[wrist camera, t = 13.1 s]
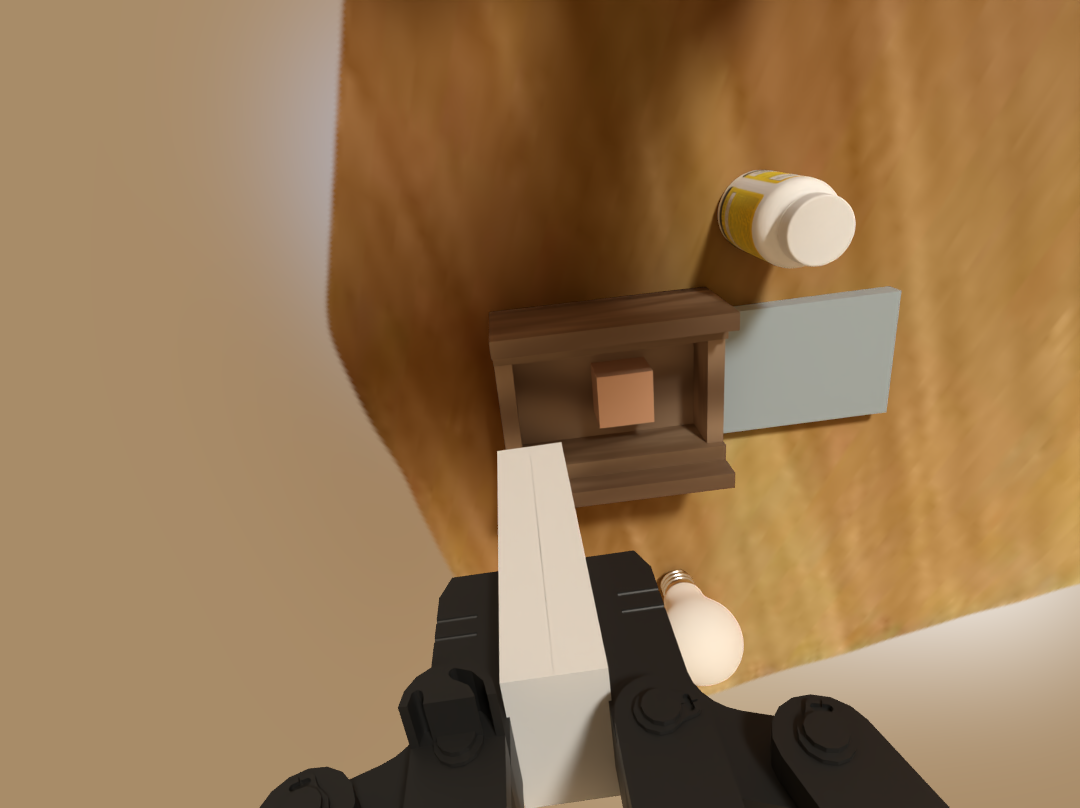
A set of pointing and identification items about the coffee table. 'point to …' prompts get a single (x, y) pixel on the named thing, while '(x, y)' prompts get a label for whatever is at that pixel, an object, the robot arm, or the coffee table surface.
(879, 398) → the cover plate
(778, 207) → the supplement bottle
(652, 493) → the walnut box
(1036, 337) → the coffee table surface
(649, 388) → the terracotta block
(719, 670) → the light bulb
